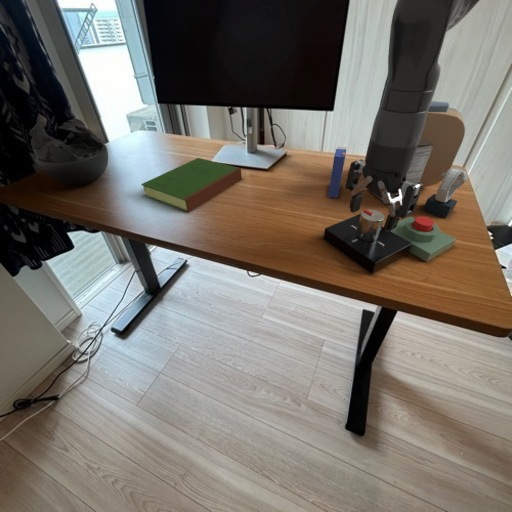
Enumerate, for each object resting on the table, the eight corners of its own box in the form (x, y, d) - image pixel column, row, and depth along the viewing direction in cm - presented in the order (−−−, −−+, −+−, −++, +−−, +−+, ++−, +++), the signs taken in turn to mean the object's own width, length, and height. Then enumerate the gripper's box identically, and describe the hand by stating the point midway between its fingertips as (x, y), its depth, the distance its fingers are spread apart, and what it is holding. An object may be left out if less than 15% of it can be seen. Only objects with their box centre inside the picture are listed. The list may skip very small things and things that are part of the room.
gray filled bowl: (129, 178, 92) (107, 118, 80) (70, 202, 80) (34, 135, 68) (98, 166, 102) (75, 110, 90) (41, 185, 90) (6, 125, 78)
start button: (434, 229, 57) (437, 222, 56) (424, 234, 56) (427, 227, 55) (419, 221, 60) (422, 214, 59) (408, 226, 58) (411, 219, 57)
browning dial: (382, 236, 57) (389, 215, 53) (367, 243, 55) (374, 222, 52) (366, 227, 60) (371, 206, 56) (351, 233, 58) (356, 212, 55)
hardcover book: (188, 212, 73) (186, 200, 71) (144, 195, 82) (141, 184, 79) (243, 178, 89) (242, 167, 86) (201, 167, 97) (199, 157, 95)
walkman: (337, 198, 76) (345, 155, 69) (327, 196, 77) (334, 154, 69) (340, 186, 82) (347, 145, 74) (330, 185, 83) (337, 145, 75)
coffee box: (370, 193, 78) (386, 134, 68) (389, 189, 79) (407, 131, 69) (391, 208, 71) (412, 145, 61) (412, 203, 73) (435, 141, 62)
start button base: (451, 247, 58) (460, 231, 56) (426, 262, 55) (434, 246, 52) (406, 223, 65) (412, 209, 63) (381, 235, 62) (386, 221, 60)
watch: (454, 209, 70) (475, 167, 63) (442, 220, 66) (463, 178, 59) (432, 201, 73) (449, 161, 66) (419, 212, 69) (436, 171, 62)
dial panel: (407, 254, 57) (413, 242, 55) (371, 274, 53) (375, 262, 51) (357, 224, 66) (359, 213, 64) (323, 238, 62) (324, 227, 60)
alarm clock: (439, 180, 83) (473, 100, 69) (439, 193, 76) (476, 108, 62) (369, 170, 90) (387, 96, 76) (364, 181, 84) (382, 103, 70)
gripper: (450, 145, 41) (412, 231, 52) (375, 124, 51) (356, 201, 61) (419, 155, 39) (386, 244, 49) (346, 131, 48) (332, 210, 58)
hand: (370, 220), depth 55 cm, fingers open, 8 cm apart
